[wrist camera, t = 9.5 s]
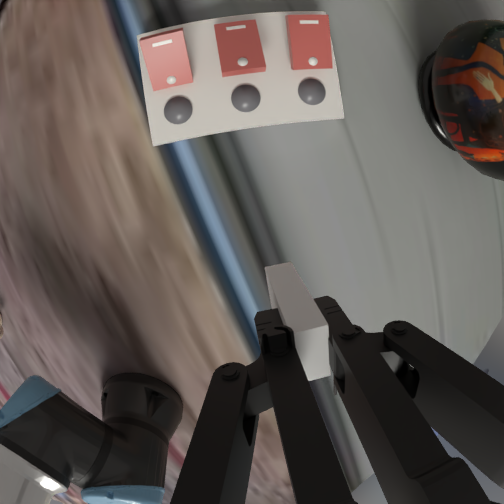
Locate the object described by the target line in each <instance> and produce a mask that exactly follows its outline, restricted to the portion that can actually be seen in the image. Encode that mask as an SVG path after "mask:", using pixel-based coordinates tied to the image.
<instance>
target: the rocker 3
mask: <svg viewBox="0 0 504 504" xmlns="http://www.w3.org/2000/svg"><path fill="white" fill-rule="evenodd" d="M285 20H286V28H287V36H288V45H289V54H290V64H291V69H292V70H303V69H332V68H333V64H332V51H331V39H330V28H329V18H328V15H286V16H285Z"/></svg>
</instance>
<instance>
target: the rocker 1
mask: <svg viewBox="0 0 504 504" xmlns="http://www.w3.org/2000/svg"><path fill="white" fill-rule="evenodd" d="M139 43H140V47H141V50H142V54H143V57H144V61H145V64H146V68H147V71H148V74H149V78H150V81H151V85H152V88H153V91H157V90H161V89H166V88H170V87H174V86H179V85H183V84H188V83H193V74H192V70H191V65H190V60H189V55H188V50H187V45H186V40H185V35H184V30H183V28H178V29H174V30H169V31H165V32H161V33H157V34H153V35H149V36H146V37H142V38H140V40H139Z"/></svg>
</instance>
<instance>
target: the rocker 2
mask: <svg viewBox="0 0 504 504" xmlns="http://www.w3.org/2000/svg"><path fill="white" fill-rule="evenodd" d="M214 30H215V36H216V42H217V48H218V54H219V60H220V66H221V72H222V77H228V76H234V75H241V74H249V73H258V72H265V71H266V63H265V58H264V54H263V50H262V45H261V41H260V36H259V32H258V28H257V24H256V20H255V19H254V20H244V21H235V22H227V23H220V24H214Z"/></svg>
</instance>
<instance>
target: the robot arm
mask: <svg viewBox="0 0 504 504" xmlns="http://www.w3.org/2000/svg"><path fill="white" fill-rule="evenodd" d="M265 271H266V277H267V283H268V289H269V295H270V301H271V306H272V309H270V310H265V311H260V312H257V314H256V316H255V318H254V320H255V325H256V330H257V335H258V340H259V344H260V349H261V354H260V356H259V358H258V359H257V360H256V361H255V362H253V363H251V364H250V365H247V366H244V365H243V364H240V363H235V362H232V363H226V364H224V365H221V366H220V367H218V368H217V369H216V370H215V372H214V373H213V376H212V379H211V382H210V385H209V388H208V391H207V394H206V397H205V400H204V403H203V406H202V409H201V412H200V415H199V418H198V421H197V424H196V427H195V430H194V433H193V436H192V439H191V442H190V445H189V448H188V451H187V454H186V457H185V460H184V463H183V466H182V469H181V472H180V475H179V478H178V481H177V484H176V487H175V490H174V493H173V496H172V499H171V502H170V504H245V499H246V494H247V488H248V482H249V476H250V470H251V464H252V458H253V452H254V446H255V439H256V433H257V427H258V420H259V413H261V412H263V411H266V410H268V409H270V408H272V407H273V408H274V412H275V416H276V421H277V425H278V429H279V434H280V438H281V442H282V446H283V451H284V455H285V459H286V463H287V468H288V472H289V476H290V480H291V484H292V488H293V493H294V497H295V501H296V504H358V503H357V502H355V501H354V499H353V498H352V495H351V493H350V490H349V487H348V485H347V482H346V479H345V477H344V474H343V471H342V469H341V466H340V463H339V461H338V458H337V455H336V453H335V450H334V447H333V445H332V442H331V439H330V437H329V434H328V431H327V429H326V426H325V423H324V421H323V418H322V416H321V413H320V410H319V408H318V405H317V402H316V400H315V397H314V394H313V392H312V389H311V387H310V384H309V381H311V380H315V379H319V378H322V377H326V376H330V367H331V369H332V371H333V373H334V395H337V390H338V393H339V395H340V397H341V399H342V401H343V403H344V406H345V408H346V410H347V412H348V414H349V417H350V419H351V421H352V423H353V425H354V428H355V430H356V432H357V434H358V437H359V439H360V441H361V443H362V445H363V448H364V450H365V452H366V454H367V457H368V459H369V461H370V463H371V466H372V468H373V470H374V472H375V475H376V477H377V479H378V482H379V484H380V486H381V488H382V491H383V493H384V495H385V498H386V500H387V502H388V504H500V503H496V502H492V501H490V500H489V499H488V497H487V496H486V494H485V492H484V491H483V489H482V487H481V486H480V484H479V482H478V481H477V479H476V478H475V476H474V474H473V473H472V471H471V470H470V468H469V467H468V465H467V464H466V463H465V461H464V460H463V459H461V458H459V457H456V458H452V457H450V456H449V455H448V453H447V452H446V450H445V449H444V447H443V446H442V444H441V442H440V441H439V439H438V438H437V436H436V435H435V433H434V432H433V430H432V429H431V427H432V428H433V429H434V430H435V431H436V432H438V433H439V434H440V435H441V436H442V437H443V438H444V439H445V440H446V441H448V442H449V443H450V444H451V445H452V446H453V447H454V448H456V449H457V450H458V451H459V452H460V453H461V454H462V455H463V456H465V457H466V458H467V459H468V460H469V461H470V462H471V463H472V464H474V465H475V466H476V467H477V468H478V469H479V470H480V471H481V472H483V473H484V474H485V475H486V476H487V477H488V478H489V479H490V480H492V481H493V482H495V483H496V484H497V485H499V486H500V487H501V488H503V489H504V386H503V385H502V384H501V383H499V382H498V381H496V380H495V379H493V378H492V377H490V376H489V375H487V374H486V373H485V372H483V371H482V370H480V369H479V368H477V367H476V366H474V365H473V364H471V363H470V362H468V361H467V360H465V359H464V358H462V357H461V356H459V355H458V354H456V353H455V352H453V351H452V350H450V349H449V348H447V347H446V346H444V345H443V344H441V343H440V342H438V341H437V340H435V339H433V338H432V337H430V336H429V335H427V334H426V333H424V332H423V331H421V330H420V329H418V328H417V327H415V326H413V325H412V324H410V323H408V322H406V321H400V320H399V321H392V322H389V323H388V324H387V325H385V327H384V329H383V332H378V333H366V332H365V331H364V330H363V329H362V328H361V327H359V326H357V325H352V323H351V322H350V320H349V319H348V317H347V316H346V315H345V313H344V312H343V311H342V309H341V308H340V306H339V305H338V303H337V302H336V300H335V299H333V298H331V297H329V296H324V297H320V298H315V299H313V298H312V296H311V294H310V293H309V291H308V289H307V288H306V286H305V284H304V283H303V281H302V279H301V278H300V276H299V274H298V273H297V271H296V269H295V268H294V266H293V264H292V263H291V262H287V263H283V264H278V265H273V266H268V267H265ZM409 364H410V365H411V366H413V367H414V368H413V367H411V366H410V365H409ZM101 405H102V421H101V420H100V419H98V418H97V417H95V416H94V415H92V414H91V413H90V412H88V411H87V410H85V409H84V408H82V407H81V406H80V405H78V404H77V403H76V402H74V401H73V400H72V399H70V398H69V397H68V396H67V395H65V394H64V393H63V392H62V391H61V389H59V388H56V387H55V386H53V385H52V384H50V383H49V382H48V381H46V380H45V379H44V378H42V377H41V376H38V375H33V376H30V377H28V378H27V379H26V380H25V381H24V383H23V384H22V385H21V386H20V387H19V388H18V389H17V391H16V392H15V393H14V394H13V395H12V396H11V398H10V399H9V400H8V401H7V402H6V404H5V405H4V406H3V407H2V409H1V410H0V504H50V501H51V499H52V496H53V495H55V494H57V493H62V492H66V491H67V490H68V487H69V485H70V482H71V483H73V484H75V485H77V486H79V487H80V488H82V491H81V496H82V499H83V500H84V501H85V502H87V503H88V504H162V500H163V495H164V492H165V489H164V484H165V474H166V464H167V455H168V445H169V441H170V439H171V438H172V436H173V434H174V433H175V431H176V429H177V427H178V426H179V424H180V422H181V419H182V413H183V404H182V401H181V399H180V397H179V396H178V394H177V393H176V392H175V391H174V390H173V389H172V388H171V387H169V386H168V385H167V384H165V383H163V382H162V381H160V380H158V379H155V378H153V377H150V376H146V375H142V374H136V373H124V374H119V375H116V376H114V377H112V378H110V379H109V380H108V381H107V382H106V384H105V387H104V389H103V392H102V396H101ZM430 426H431V427H430Z"/></svg>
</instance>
